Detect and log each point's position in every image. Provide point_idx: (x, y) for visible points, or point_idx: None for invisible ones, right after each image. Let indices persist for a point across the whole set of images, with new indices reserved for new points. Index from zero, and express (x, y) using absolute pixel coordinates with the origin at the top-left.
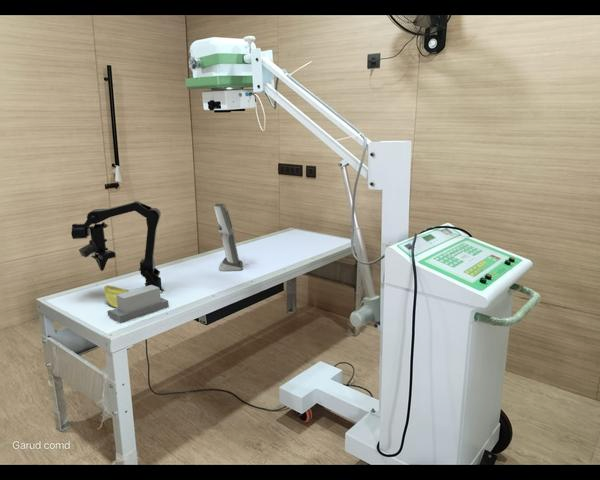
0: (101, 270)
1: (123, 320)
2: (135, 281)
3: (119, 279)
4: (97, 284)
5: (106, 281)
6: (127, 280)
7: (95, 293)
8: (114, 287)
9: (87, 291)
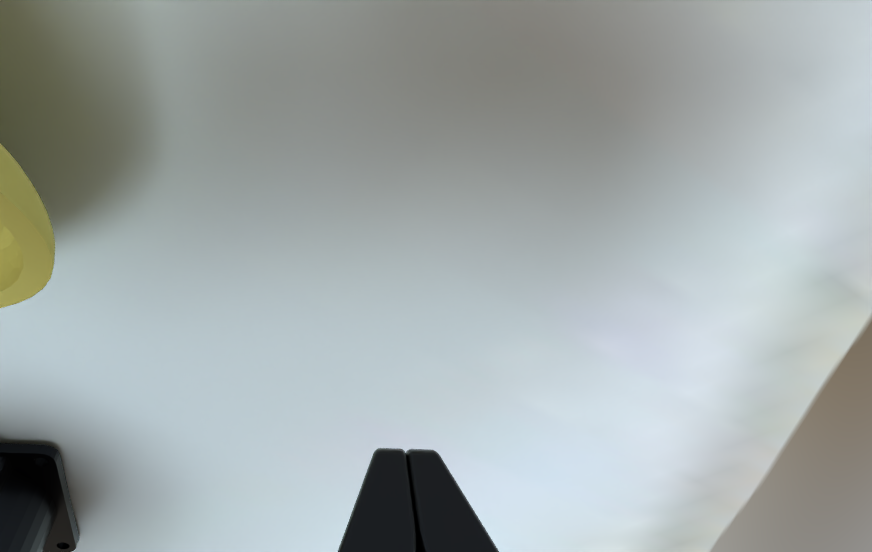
0: (372, 457)
1: None
2: (481, 521)
3: (697, 479)
4: (845, 297)
5: (801, 394)
6: (588, 500)
7: (594, 80)
8: (14, 225)
9: (797, 68)
